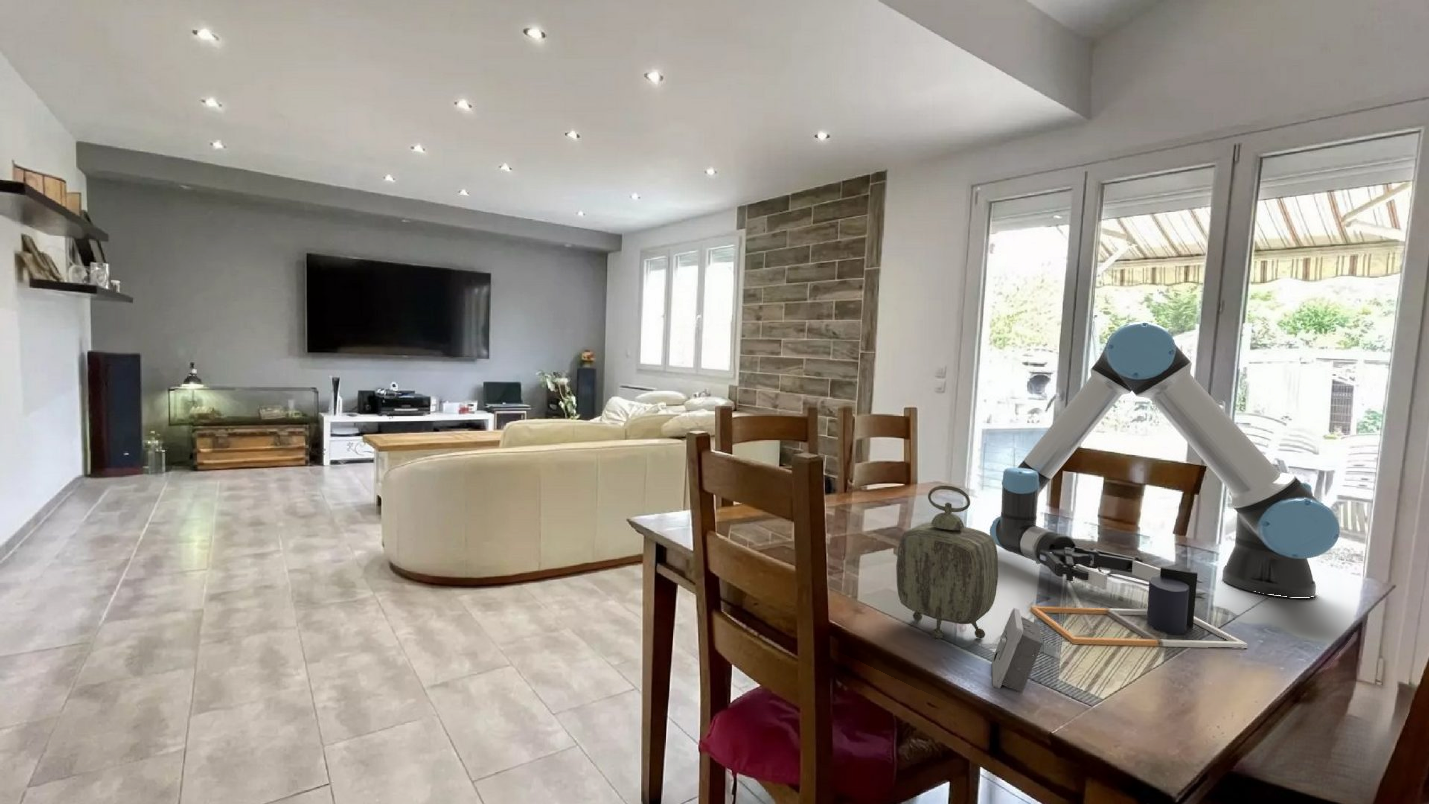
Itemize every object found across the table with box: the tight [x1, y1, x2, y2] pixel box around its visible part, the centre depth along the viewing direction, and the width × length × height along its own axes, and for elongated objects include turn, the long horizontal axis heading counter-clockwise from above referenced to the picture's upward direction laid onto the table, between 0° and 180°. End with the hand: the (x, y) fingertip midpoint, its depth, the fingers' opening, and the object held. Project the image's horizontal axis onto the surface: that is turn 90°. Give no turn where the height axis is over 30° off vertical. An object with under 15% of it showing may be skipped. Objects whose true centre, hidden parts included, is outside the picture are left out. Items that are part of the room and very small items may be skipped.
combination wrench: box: [1097, 567, 1207, 598], centre depth 138 cm, size 4×1×20 cm
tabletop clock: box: [895, 485, 999, 640], centre depth 108 cm, size 14×9×25 cm, turn 50°
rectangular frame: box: [1029, 605, 1248, 649], centre depth 114 cm, size 28×15×1 cm, turn 90°
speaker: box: [1146, 566, 1199, 635], centre depth 114 cm, size 8×6×10 cm
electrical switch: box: [991, 607, 1044, 693], centre depth 93 cm, size 9×5×9 cm, turn 158°
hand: (1135, 580), depth 120 cm, fingers open, 13 cm apart
